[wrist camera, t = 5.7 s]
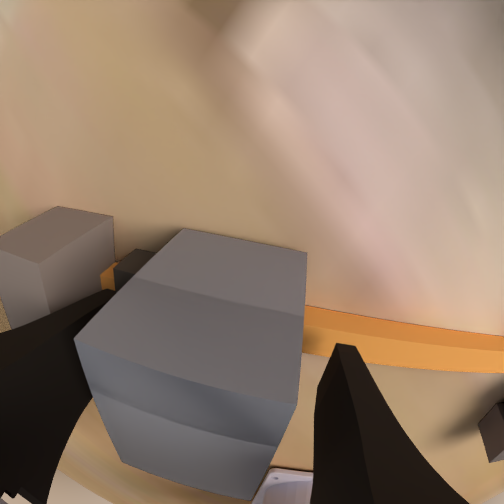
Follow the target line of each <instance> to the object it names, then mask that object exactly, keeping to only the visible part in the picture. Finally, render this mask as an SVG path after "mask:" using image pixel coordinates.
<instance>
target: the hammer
mask: <svg viewBox="0 0 504 504" xmlns="http://www.w3.org/2000/svg"><path fill="white" fill-rule="evenodd" d="M156 254H157V253H152V252H148V251H144V250H139V249H135V250H134V251H132V252H131V253H130V254H129V255H128V256H127V257H125V258H124V259H123V260H122V261H121V262H120V263H117V262H115V251H114V234H113V216H107V215H102V214H97V213H91V212H86V211H81V210H75V209H70V208H65V207H59V206H57V207H55V208H53V209H51V210H49V211H47V212H45V213H43V214H41V215H39V216H37V217H35V218H33V219H31V220H29V221H27V222H25V223H23V224H21V225H20V226H18V227H16V228H14V229H12V230H10V231H9V232H7V233H5V234H3V235H1V236H0V297H1V300H2V303H3V306H4V309H5V312H6V315H7V318H8V321H9V323H10V326H11V329H15V328H17V327H20V326H23V325H25V324H28V323H30V322H32V321H35V320H37V319H39V318H42V317H44V316H46V315H49V314H51V313H53V312H56V311H58V310H60V309H62V308H64V307H66V306H68V305H71V304H73V303H75V302H77V301H79V300H81V299H83V298H86V297H88V296H90V295H92V294H94V293H97V292H99V291H102V290H104V289H107V288H108V289H111V290H114V291H117V292H118V291H119V290H120V289H121V288H122V287H123V286H124V285H125V284H126V283H127V282H128V281H129V280H130V279H131V278H132V277H133V276H134V275H135V274H136V273H137V272H138V271H139V270H140V269H141V268H142V267H143V266H144V265H145V264H146V263H147V262H148V261H149V260H150V259H151V258H152V257H154V256H155V255H156ZM336 343H341V344H347V345H354V346H356V348H357V349H358V351H359V353H360V355H361V357H362V359H363V360H364V362H366V363H374V364H382V365H390V366H399V367H408V368H419V369H430V370H444V371H459V372H482V373H504V337H503V336H494V335H486V334H478V333H470V332H462V331H455V330H448V329H441V328H434V327H427V326H420V325H414V324H408V323H401V322H395V321H389V320H383V319H377V318H371V317H365V316H360V315H354V314H348V313H343V312H337V311H332V310H327V309H321V308H316V307H311V306H306V305H305V311H304V327H303V342H302V352H303V353H308V354H314V355H320V356H326V357H331V354H332V352H333V349H334V347H335V344H336Z"/></svg>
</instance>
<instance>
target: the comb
mask: <svg viewBox="0 0 504 504" xmlns="http://www.w3.org/2000/svg"><path fill="white" fill-rule="evenodd" d="M478 427H479V430H480V433H481V436H482V439H483V443H484V446H485V450H486V453H487V457H488V460H489V463H491V462H496V461H500V460H504V403H496V405H495V406H494V407H493V408H492V409H491V410H490V412H489V413H488V414H487V415H486V416H485V417H484V418H483V419H482V420H481V422H480V423H479V424H478Z"/></svg>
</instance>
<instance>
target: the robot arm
mask: <svg viewBox="0 0 504 504" xmlns="http://www.w3.org/2000/svg"><path fill="white" fill-rule="evenodd" d="M116 293H117V291H114V290H111V289H108V288H107V289H104V290H102V291H99V292H97V293H94V294H92V295H90V296H88V297H86V298H83V299H81V300H79V301H77V302H75V303H73V304H71V305H68V306H66V307H64V308H62V309H60V310H58V311H56V312H53V313H51V314H49V315H46V316H44V317H42V318H39V319H37V320H35V321H32V322H30V323H28V324H25V325H23V326H20V327H17V328H15V329H12V330H9V331H6V332H2V333H0V504H7V503H6V502H5V501H4V500H3V499H1V497H2V495H3V493H4V492H5V493H6V494H8V495H9V496H10V497H11V498H15V496H16V495H17V493H18V494H20V495H21V496H22V497H24V498H25V499H26V500H28V501H29V502H31V503H32V504H47V499H48V495H49V491H50V487H51V484H52V480H53V477H54V474H55V471H56V469H57V466H58V463H59V460H60V458H61V455H62V453H63V450H64V448H65V446H66V443H67V441H68V439H69V437H70V435H71V433H72V431H73V429H74V427H75V425H76V423H77V421H78V419H79V417H80V415H81V414H82V412H83V411H84V409H85V408H86V406H87V405H88V403H89V402H90V400H91V399H92V397H93V396H92V393H91V390H90V388H89V385H88V382H87V379H86V376H85V373H84V370H83V367H82V364H81V361H80V358H79V355H78V352H77V348H76V345H75V342H74V338H75V336H76V335H77V334H78V333H79V332H80V331H81V330H82V329H83V328H84V327H85V326H86V325H87V323H88V322H89V321H90V320H91V319H92V318H93V317H94V316H95V315H96V314H97V313H98V312H99V311H100V310H101V309H102V308H103V307H104V306H105V305H106V303H107V302H108V301H109V300H110V299H111V298H112V297H113V296H114V295H115V294H116ZM251 504H469V503H468V502H467V501H466V500H465V499H464V498H463V497H461V496H460V495H459V494H458V493H457V492H456V491H455V490H454V489H453V488H452V487H451V486H450V485H449V484H448V483H447V482H446V481H445V480H444V479H443V478H442V477H441V476H440V475H439V474H438V473H437V472H436V471H435V470H434V468H433V467H432V466H431V465H430V464H429V463H428V462H427V460H426V459H425V458H424V457H423V456H422V454H421V453H420V452H419V450H418V449H417V448H416V446H415V445H414V444H413V442H412V441H411V440H410V439H409V437H408V436H407V434H406V433H405V431H404V430H403V428H402V427H401V425H400V424H399V422H398V421H397V419H396V418H395V416H394V414H393V413H392V411H391V409H390V408H389V406H388V404H387V403H386V401H385V399H384V397H383V396H382V394H381V392H380V390H379V389H378V387H377V385H376V383H375V381H374V379H373V378H372V376H371V374H370V372H369V370H368V368H367V366H366V364H365V362H364V360H363V359H362V357H361V355H360V353H359V351H358V349H357V348H356V346H354V345H347V344H341V343H336V344H335V347H334V349H333V352H332V354H331V357H330V359H329V362H328V364H327V366H326V369H325V371H324V373H323V376H322V378H321V380H320V382H319V385H318V387H317V395H316V403H315V412H314V463H313V473H312V472H303V471H295V470H287V469H280V468H272V469H270V470H269V472H268V474H267V476H266V477H265V479H264V481H263V483H262V485H261V487H260V489H259V490H258V492H257V494H256V496H255V498H254V499H253V501H252V503H251Z"/></svg>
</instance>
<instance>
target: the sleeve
mask: <svg viewBox="0 0 504 504" xmlns="http://www.w3.org/2000/svg"><path fill="white" fill-rule="evenodd" d="M306 271H307V253H306V252H301V251H296V250H291V249H286V248H281V247H276V246H271V245H266V244H261V243H256V242H251V241H246V240H241V239H236V238H231V237H226V236H221V235H216V234H210V233H205V232H200V231H195V230H190V229H185V228H183V229H182V230H181V231H180V232H179V233H178V234H177V235H176V236H175V237H173V238H172V239H171V240H170V241H169V242H168V243H167V244H166V245H165V246H164V247H163V248H162V249H161V250H160V251H159V252H158V253H157V254H156V255H155V256H154V257H152V258H151V259H150V260H149V261H148V262H147V263H146V264H145V265H144V266H143V267H142V268H141V269H140V270H139V271H138V272H137V273H136V274H135V275H134V276H133V277H132V278H131V279H130V280H129V281H128V282H127V283H126V284H125V285H124V286H123V287H122V288H121V289H120V290H119V291H118V292H117V293H116V294H115V295H114V296H113V297H112V298H111V299H110V300H109V301H108V302H107V303H106V305H105V306H104V307H103V308H102V309H101V310H100V311H99V312H98V313H97V314H96V315H95V316H94V317H93V318H92V319H91V320H90V321H89V322H88V323H87V325H86V326H85V327H84V328H83V329H82V330H81V331H80V332H79V333H78V334H77V335H76V336H75V338H74V342H75V345H76V348H77V352H78V355H79V358H80V361H81V364H82V367H83V370H84V373H85V376H86V379H87V382H88V385H89V388H90V390H91V393H92V396H93V398H94V401H95V403H96V406H97V408H98V411H99V413H100V416H101V418H102V420H103V423H104V425H105V427H106V429H107V432H108V434H109V436H110V438H111V440H112V443H113V445H114V447H115V449H116V451H117V453H118V455H119V457H120V459H121V461H122V462H123V463H126V464H128V465H130V466H133V467H135V468H138V469H140V470H143V471H145V472H148V473H151V474H153V475H156V476H159V477H162V478H165V479H168V480H171V481H174V482H177V483H180V484H183V485H186V486H190V487H193V488H197V489H200V490H204V491H208V492H212V493H216V494H220V495H224V496H229V497H233V498H238V499H243V500H248V501H251V499H252V497H253V496H254V494H255V492H256V490H257V488H258V486H259V484H260V482H261V480H262V478H263V476H264V474H265V472H266V471H267V469H268V467H269V465H270V462H271V460H272V458H273V456H274V454H275V452H276V450H277V448H278V446H279V444H280V442H281V439H282V437H283V435H284V433H285V431H286V429H287V426H288V424H289V422H290V420H291V417H292V415H293V413H294V411H295V408H296V406H297V400H298V390H299V379H300V367H301V355H302V342H303V327H304V311H305V293H306Z"/></svg>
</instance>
